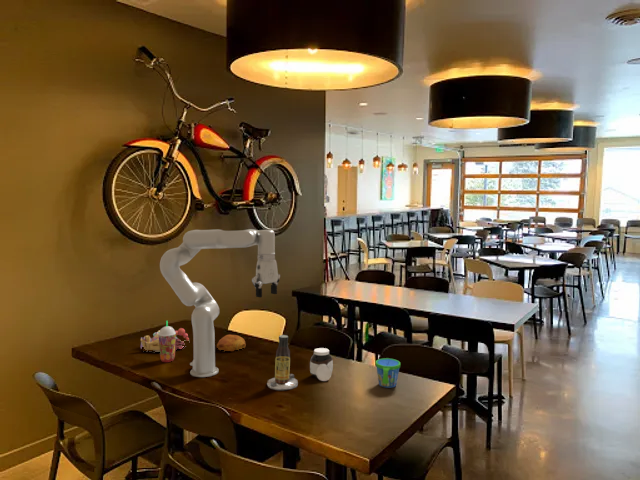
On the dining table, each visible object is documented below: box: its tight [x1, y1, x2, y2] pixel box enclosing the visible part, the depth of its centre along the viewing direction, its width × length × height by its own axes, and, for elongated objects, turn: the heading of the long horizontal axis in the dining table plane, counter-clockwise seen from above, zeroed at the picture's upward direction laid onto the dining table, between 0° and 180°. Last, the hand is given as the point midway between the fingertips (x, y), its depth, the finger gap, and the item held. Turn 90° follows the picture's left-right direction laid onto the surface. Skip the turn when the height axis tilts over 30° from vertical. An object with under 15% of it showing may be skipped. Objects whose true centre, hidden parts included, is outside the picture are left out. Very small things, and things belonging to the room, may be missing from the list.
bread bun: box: [215, 333, 247, 352], centre depth 256 cm, size 15×16×8 cm
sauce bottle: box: [274, 334, 291, 384], centre depth 203 cm, size 7×6×20 cm
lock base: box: [266, 373, 299, 391], centre depth 204 cm, size 13×13×3 cm
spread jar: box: [309, 347, 334, 382], centre depth 213 cm, size 12×11×12 cm
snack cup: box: [375, 357, 401, 389], centre depth 203 cm, size 16×10×10 cm
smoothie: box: [158, 320, 177, 363], centre depth 234 cm, size 8×8×20 cm
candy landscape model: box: [140, 327, 190, 353], centre depth 258 cm, size 25×24×9 cm
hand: (266, 295), depth 214 cm, fingers open, 9 cm apart
